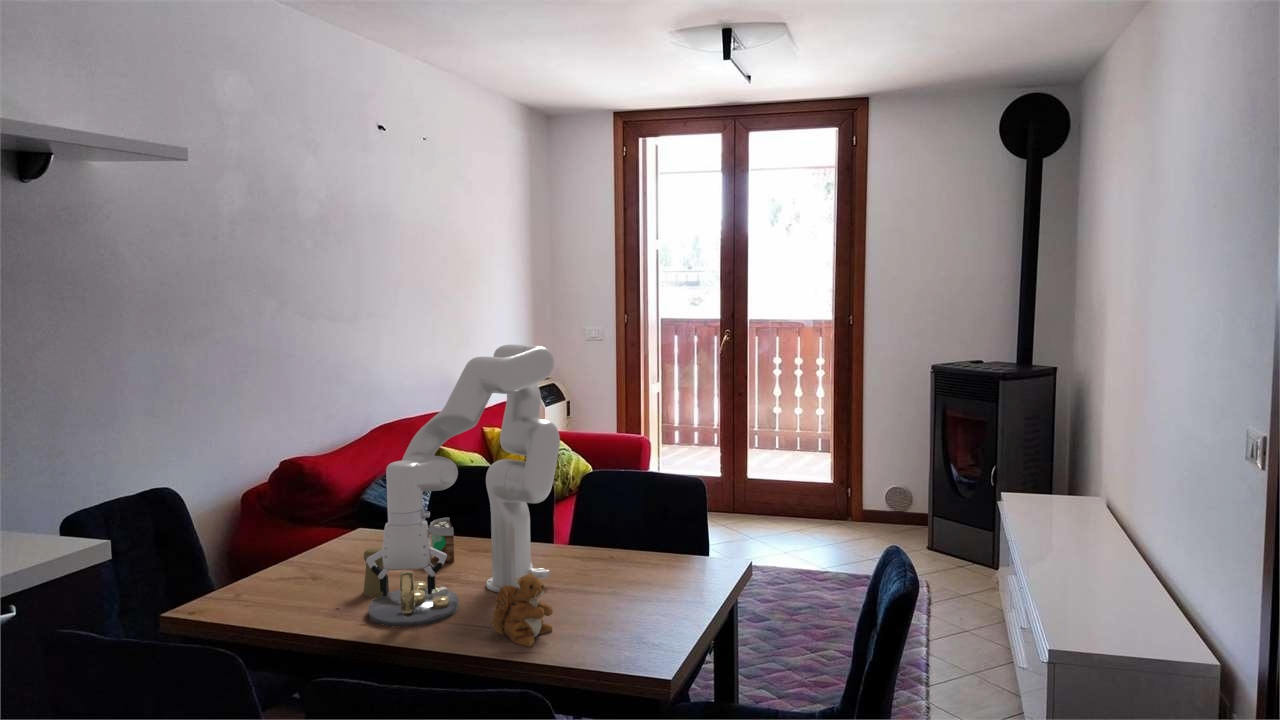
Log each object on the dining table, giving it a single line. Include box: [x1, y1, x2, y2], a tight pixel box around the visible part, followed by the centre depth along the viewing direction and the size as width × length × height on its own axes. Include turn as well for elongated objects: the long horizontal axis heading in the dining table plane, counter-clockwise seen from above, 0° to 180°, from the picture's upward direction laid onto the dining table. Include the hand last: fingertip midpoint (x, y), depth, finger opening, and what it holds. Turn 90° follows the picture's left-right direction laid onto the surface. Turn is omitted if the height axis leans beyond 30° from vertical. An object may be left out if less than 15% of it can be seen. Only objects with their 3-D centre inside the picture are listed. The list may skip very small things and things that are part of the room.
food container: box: [428, 517, 455, 564], centre depth 242 cm, size 12×6×10 cm, turn 17°
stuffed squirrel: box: [490, 573, 553, 648], centre depth 189 cm, size 10×14×13 cm
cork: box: [363, 546, 383, 598], centre depth 216 cm, size 6×6×11 cm
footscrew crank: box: [399, 570, 425, 613], centre depth 200 cm, size 12×5×9 cm, turn 5°
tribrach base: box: [368, 580, 459, 628], centre depth 204 cm, size 20×20×4 cm
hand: (408, 593), depth 195 cm, fingers open, 9 cm apart
